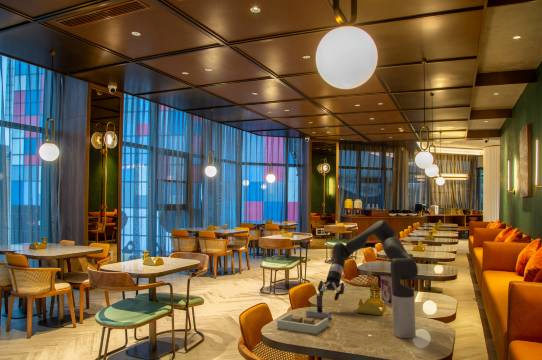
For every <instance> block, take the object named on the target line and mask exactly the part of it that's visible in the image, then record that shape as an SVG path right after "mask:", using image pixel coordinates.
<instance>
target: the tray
mask: <svg viewBox="0 0 542 360" xmlns="http://www.w3.org/2000/svg"><path fill="white" fill-rule="evenodd" d="M293 317H294V316H293V312H291V313H288V314H286V315H285V316H283V317H281V318H279V319H277V320H276V328H277V329H282V330H287V331H288V330H289V331H293V332H294V331H295V332H301V333H309V334H314V335H317V334H319V333H320V332H321V331H323V330H324V329H326V328H327V327H328V326H329V319H328V318H325V319H322V320H320V321H318V323H315V325H311V324H304V322H303V323H297V322H292V319H291V318H293Z"/></svg>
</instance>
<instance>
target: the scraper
mask: <svg viewBox="0 0 542 360" xmlns="http://www.w3.org/2000/svg"><path fill="white" fill-rule="evenodd" d="M312 317H313V319H319V320H320V319H322V320H324V319H325V318H328V320H330V319H332V311H328V310H327V311H326V310H323V297H322V295H321V294H320V293H319V294H316V309H311V308H309V309H307V310H306V311H305V318H312Z"/></svg>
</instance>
